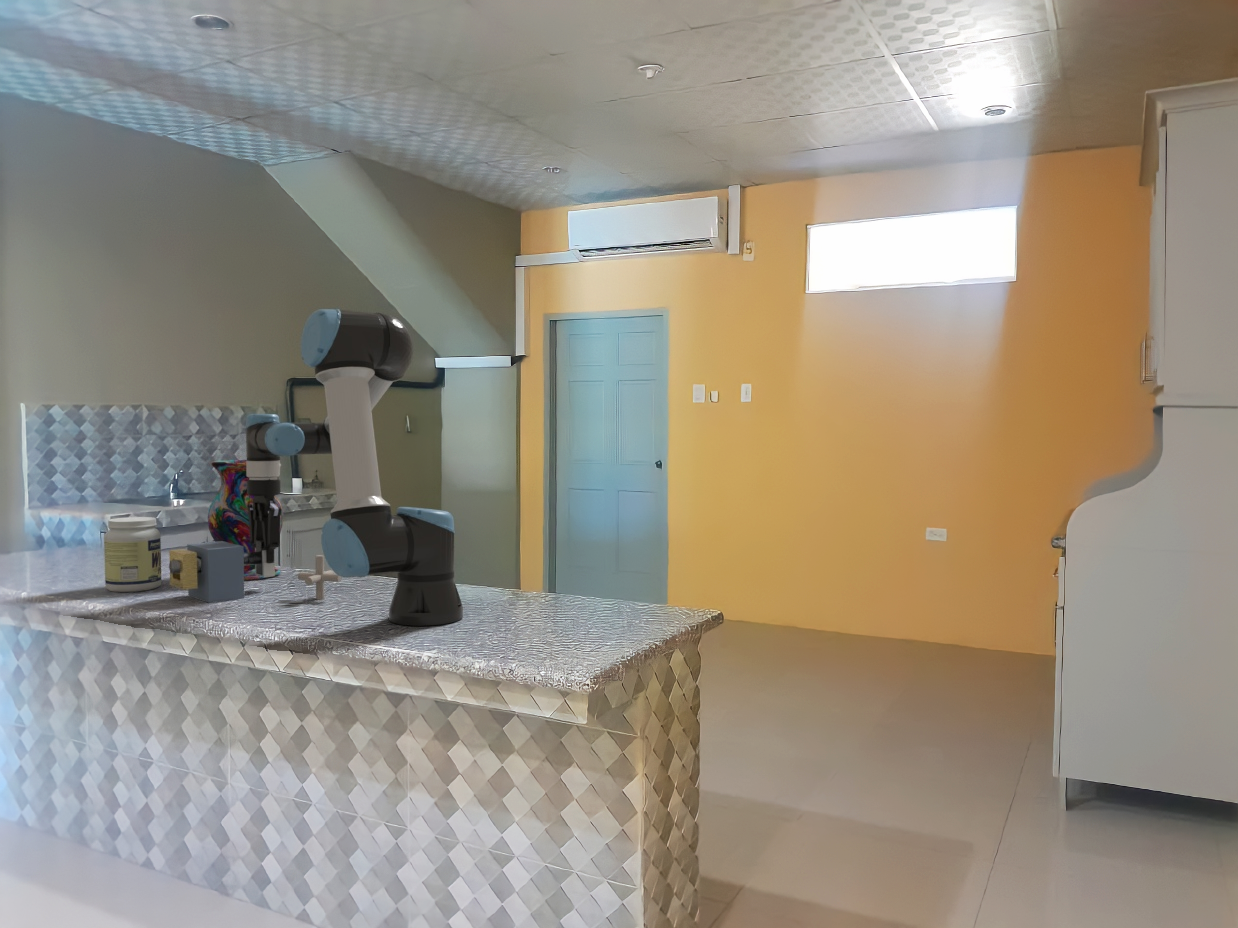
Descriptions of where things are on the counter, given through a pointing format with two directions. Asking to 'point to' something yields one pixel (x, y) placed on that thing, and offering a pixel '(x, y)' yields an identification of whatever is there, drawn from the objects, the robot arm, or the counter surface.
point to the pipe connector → (319, 577)
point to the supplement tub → (132, 554)
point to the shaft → (249, 559)
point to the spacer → (184, 569)
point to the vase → (234, 510)
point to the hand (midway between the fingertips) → (265, 575)
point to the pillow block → (219, 571)
